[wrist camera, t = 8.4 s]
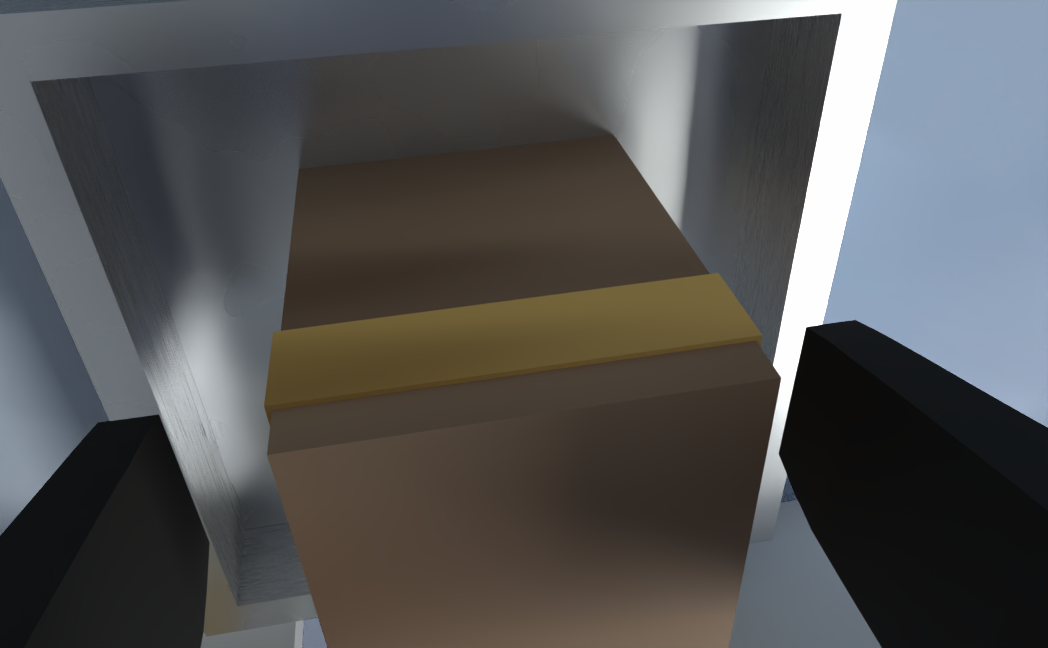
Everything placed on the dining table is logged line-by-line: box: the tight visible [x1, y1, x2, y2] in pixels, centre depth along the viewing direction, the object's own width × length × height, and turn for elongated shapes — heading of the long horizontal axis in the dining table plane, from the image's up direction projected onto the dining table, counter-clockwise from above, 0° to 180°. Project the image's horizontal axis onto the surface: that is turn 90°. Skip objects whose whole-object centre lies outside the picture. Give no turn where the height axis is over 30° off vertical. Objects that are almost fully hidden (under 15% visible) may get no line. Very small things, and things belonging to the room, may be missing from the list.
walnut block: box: [264, 135, 781, 648], centre depth 9 cm, size 4×4×5 cm
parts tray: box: [0, 0, 897, 637], centre depth 11 cm, size 9×9×2 cm
